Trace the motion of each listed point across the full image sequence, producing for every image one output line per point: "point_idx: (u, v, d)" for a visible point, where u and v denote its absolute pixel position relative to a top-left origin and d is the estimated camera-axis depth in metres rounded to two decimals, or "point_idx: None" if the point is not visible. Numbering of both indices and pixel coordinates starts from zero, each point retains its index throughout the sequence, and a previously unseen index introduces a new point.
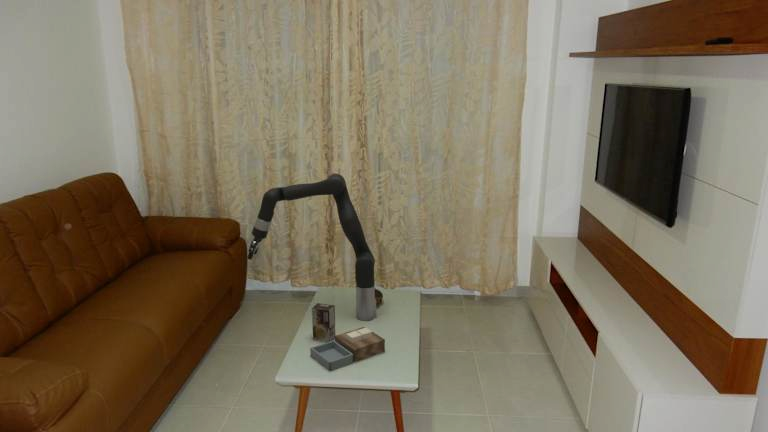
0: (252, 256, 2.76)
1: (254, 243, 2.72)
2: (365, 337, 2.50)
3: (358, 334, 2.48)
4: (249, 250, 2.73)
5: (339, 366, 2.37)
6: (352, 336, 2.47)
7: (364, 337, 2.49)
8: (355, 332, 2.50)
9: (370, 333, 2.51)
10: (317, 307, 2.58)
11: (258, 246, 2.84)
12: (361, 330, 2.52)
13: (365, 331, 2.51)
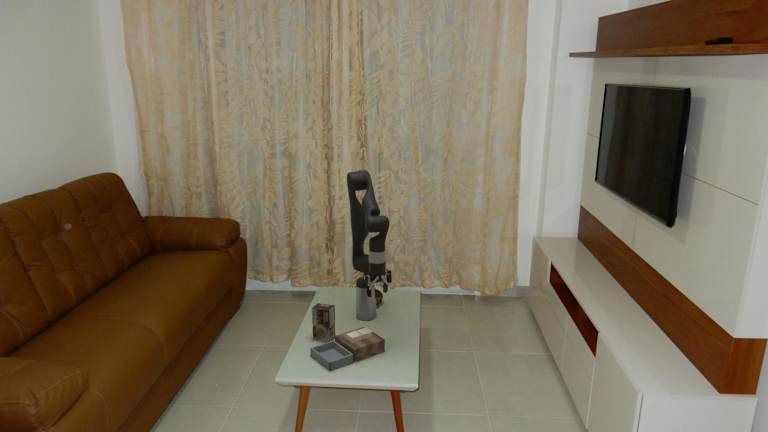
0: None
1: None
2: (365, 337, 2.50)
3: (358, 334, 2.48)
4: None
5: (339, 366, 2.37)
6: (352, 336, 2.47)
7: (364, 337, 2.49)
8: (355, 332, 2.50)
9: (370, 333, 2.51)
10: (317, 307, 2.58)
11: None
12: (361, 330, 2.52)
13: (365, 331, 2.51)
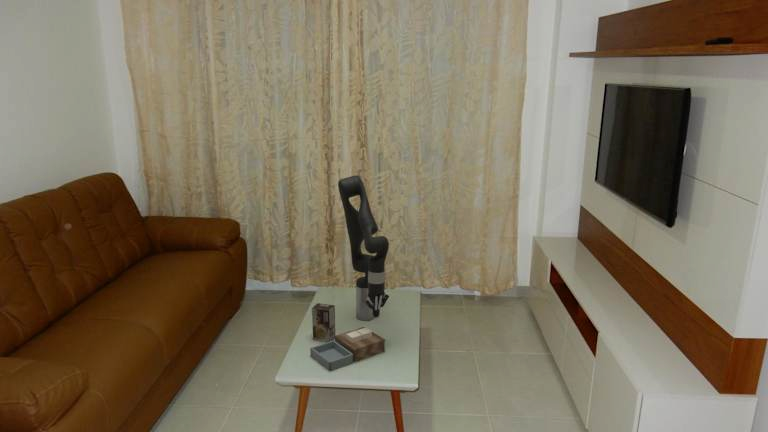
0: None
1: None
2: (365, 337, 2.50)
3: (358, 334, 2.48)
4: (383, 305, 2.55)
5: (339, 366, 2.37)
6: (352, 336, 2.47)
7: (364, 337, 2.49)
8: (355, 332, 2.50)
9: (370, 333, 2.51)
10: (317, 307, 2.58)
11: None
12: (361, 330, 2.52)
13: (365, 331, 2.51)
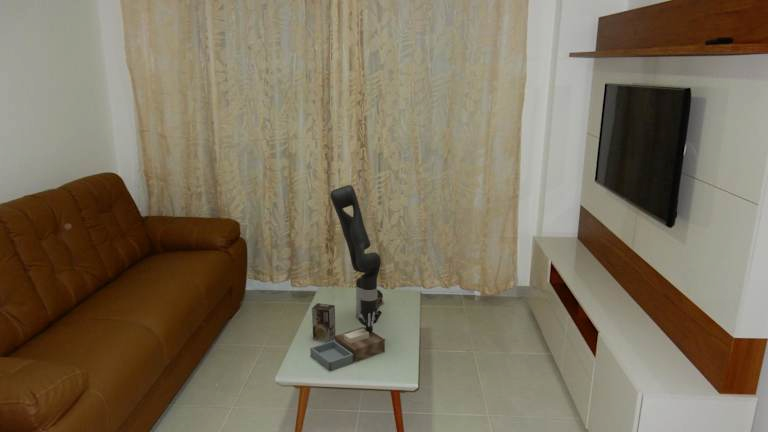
0: None
1: None
2: (362, 338, 2.49)
3: (356, 335, 2.48)
4: (376, 321, 2.54)
5: (339, 366, 2.37)
6: (350, 337, 2.46)
7: (361, 338, 2.48)
8: (353, 333, 2.50)
9: (367, 334, 2.50)
10: (317, 307, 2.58)
11: None
12: (358, 331, 2.51)
13: (362, 332, 2.50)
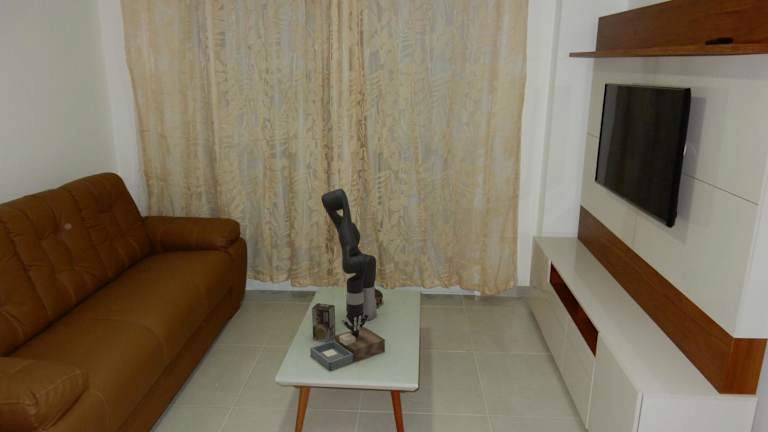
0: None
1: None
2: (348, 343, 2.44)
3: None
4: None
5: (339, 366, 2.37)
6: None
7: (347, 343, 2.44)
8: None
9: (353, 339, 2.46)
10: (317, 307, 2.58)
11: None
12: (344, 336, 2.47)
13: (348, 337, 2.46)
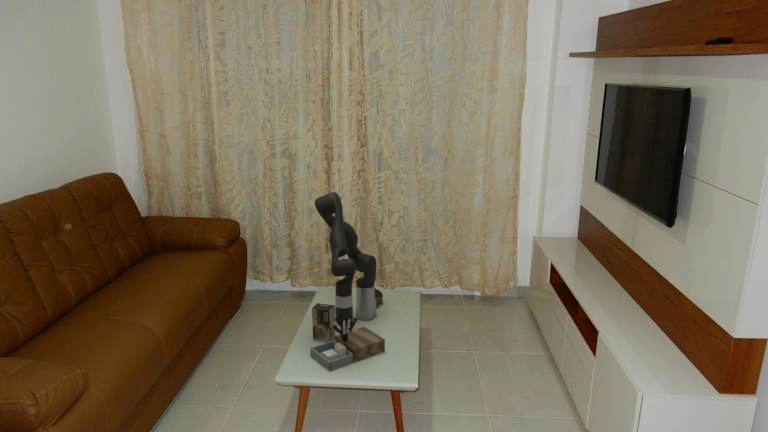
0: None
1: None
2: (344, 354, 2.43)
3: None
4: (351, 329, 2.46)
5: (339, 366, 2.37)
6: None
7: None
8: None
9: (342, 349, 2.42)
10: (317, 307, 2.58)
11: None
12: (336, 352, 2.45)
13: (338, 351, 2.43)
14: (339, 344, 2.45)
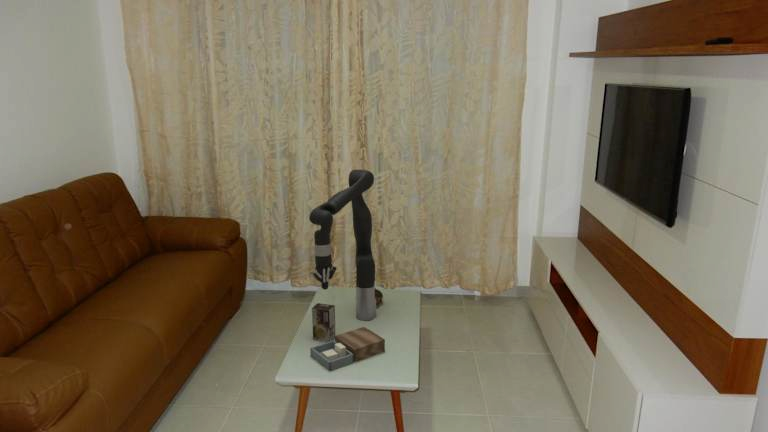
0: None
1: None
2: (344, 354, 2.43)
3: None
4: None
5: (339, 366, 2.37)
6: None
7: None
8: None
9: (342, 349, 2.42)
10: (317, 307, 2.58)
11: None
12: (336, 352, 2.45)
13: (338, 351, 2.43)
14: (339, 344, 2.45)
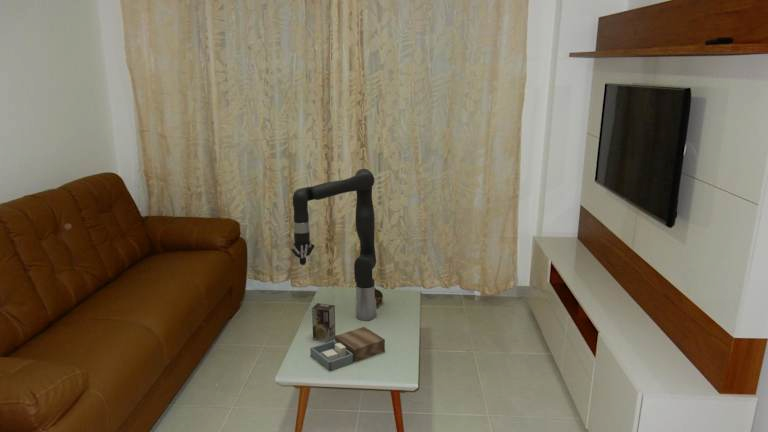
0: None
1: None
2: (344, 354, 2.43)
3: None
4: None
5: (339, 366, 2.37)
6: None
7: None
8: None
9: (342, 349, 2.42)
10: (317, 307, 2.58)
11: None
12: (336, 352, 2.45)
13: (338, 351, 2.43)
14: (339, 344, 2.45)
